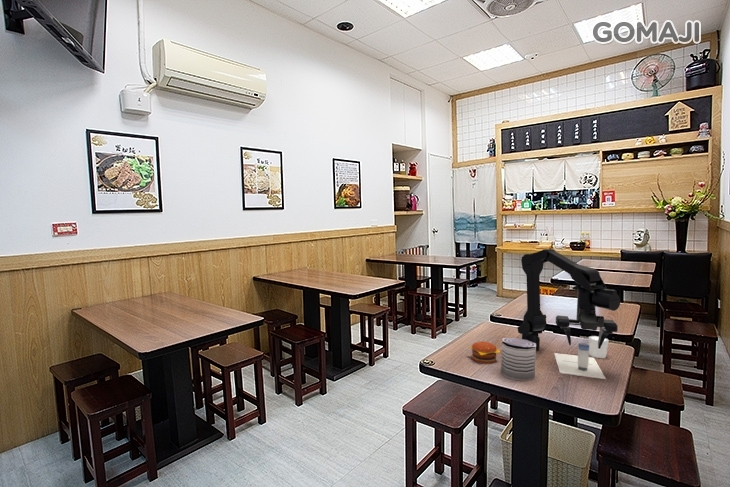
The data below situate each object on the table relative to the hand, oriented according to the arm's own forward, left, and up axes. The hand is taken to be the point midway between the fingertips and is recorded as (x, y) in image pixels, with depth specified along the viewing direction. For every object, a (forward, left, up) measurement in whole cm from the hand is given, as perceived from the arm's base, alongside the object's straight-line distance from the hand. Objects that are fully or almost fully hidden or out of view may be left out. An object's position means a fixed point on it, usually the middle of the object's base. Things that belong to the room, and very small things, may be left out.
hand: (584, 346), depth 139 cm
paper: (-1, +4, -9) cm, 10 cm away
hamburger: (-34, -2, -9) cm, 35 cm away
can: (-22, -12, -9) cm, 27 cm away
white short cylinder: (+8, +18, -9) cm, 22 cm away
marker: (0, 0, -8) cm, 8 cm away
